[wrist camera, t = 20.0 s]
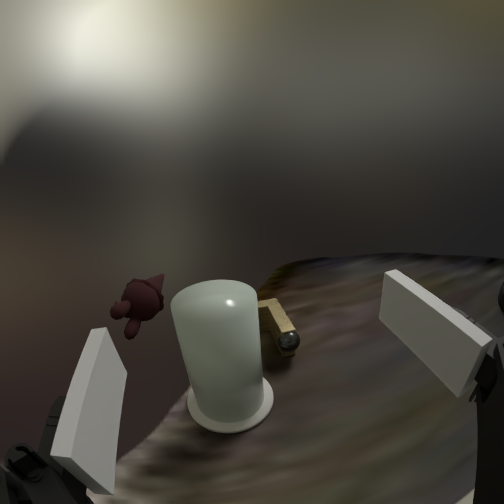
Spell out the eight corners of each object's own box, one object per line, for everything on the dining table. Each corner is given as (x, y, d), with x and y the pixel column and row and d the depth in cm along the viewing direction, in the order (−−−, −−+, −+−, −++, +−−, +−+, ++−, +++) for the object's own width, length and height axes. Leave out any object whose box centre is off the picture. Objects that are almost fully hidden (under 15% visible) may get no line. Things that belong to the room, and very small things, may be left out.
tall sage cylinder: (255, 369, 31) (246, 274, 27) (272, 414, 25) (267, 314, 20) (194, 380, 30) (171, 286, 25) (200, 428, 23) (169, 330, 19)
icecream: (139, 262, 50) (91, 310, 36) (170, 252, 47) (124, 304, 34) (156, 293, 52) (115, 346, 39) (188, 287, 50) (150, 344, 37)
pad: (261, 365, 32) (261, 362, 32) (284, 422, 24) (284, 419, 24) (186, 378, 31) (185, 375, 31) (191, 439, 22) (190, 436, 22)
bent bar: (279, 319, 41) (278, 295, 40) (302, 360, 32) (303, 334, 31) (220, 330, 40) (216, 306, 38) (231, 376, 31) (227, 350, 30)
